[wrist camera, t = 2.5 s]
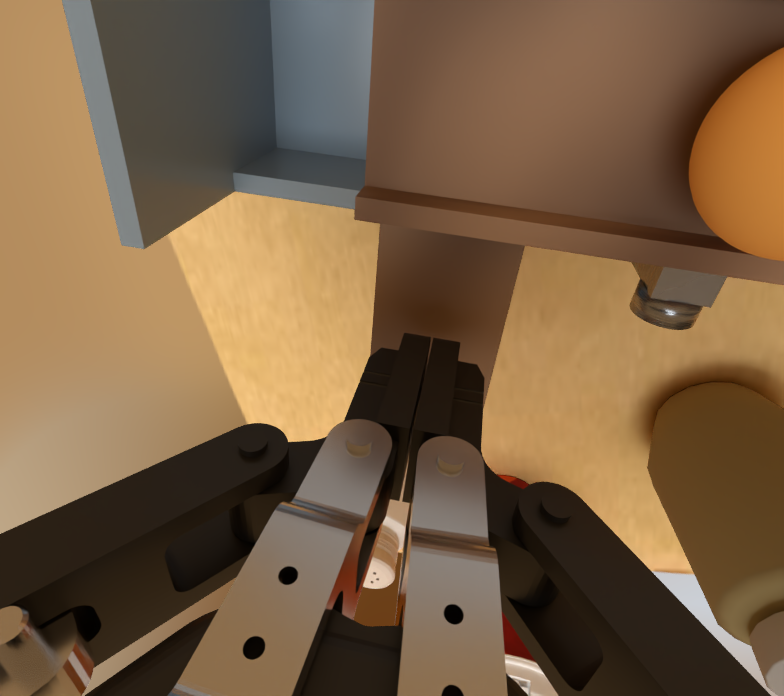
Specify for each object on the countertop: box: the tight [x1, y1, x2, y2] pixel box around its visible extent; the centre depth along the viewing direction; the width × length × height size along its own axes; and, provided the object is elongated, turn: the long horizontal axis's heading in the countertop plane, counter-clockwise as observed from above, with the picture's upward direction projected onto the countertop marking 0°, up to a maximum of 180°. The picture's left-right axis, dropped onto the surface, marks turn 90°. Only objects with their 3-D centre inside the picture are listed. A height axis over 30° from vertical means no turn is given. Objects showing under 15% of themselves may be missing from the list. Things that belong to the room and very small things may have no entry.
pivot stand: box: [630, 262, 727, 330], centre depth 16 cm, size 5×10×12 cm, turn 175°
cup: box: [62, 0, 374, 249], centre depth 17 cm, size 11×11×12 cm
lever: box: [354, 0, 784, 407], centre depth 12 cm, size 17×13×4 cm
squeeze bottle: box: [647, 382, 784, 696], centre depth 22 cm, size 8×8×18 cm
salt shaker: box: [363, 459, 409, 589], centre depth 30 cm, size 5×5×11 cm
